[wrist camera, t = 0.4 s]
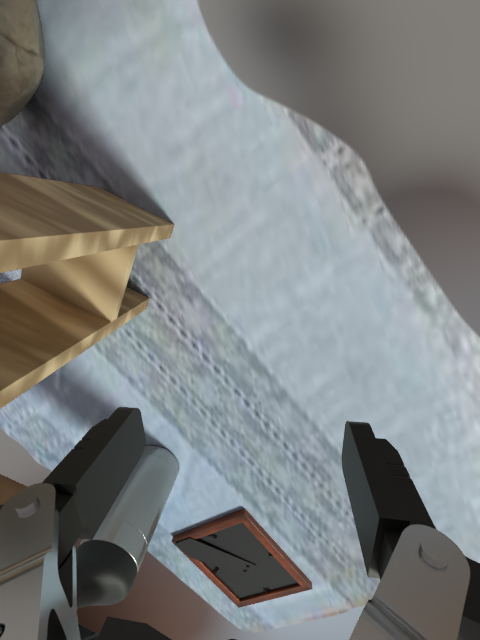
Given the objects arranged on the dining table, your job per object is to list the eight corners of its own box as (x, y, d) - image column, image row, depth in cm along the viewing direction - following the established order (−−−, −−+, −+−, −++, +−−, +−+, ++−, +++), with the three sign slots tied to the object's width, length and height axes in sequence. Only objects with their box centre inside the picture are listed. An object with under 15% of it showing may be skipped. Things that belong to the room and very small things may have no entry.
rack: (145, 310, 45) (-159, 519, 14) (76, 277, 45) (-388, 417, 14) (174, 223, 40) (-210, 253, 9) (96, 185, 40) (-584, 78, 9)
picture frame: (174, 533, 64) (239, 598, 69) (171, 542, 63) (238, 609, 67) (245, 505, 58) (311, 579, 63) (243, 515, 56) (312, 590, 61)
